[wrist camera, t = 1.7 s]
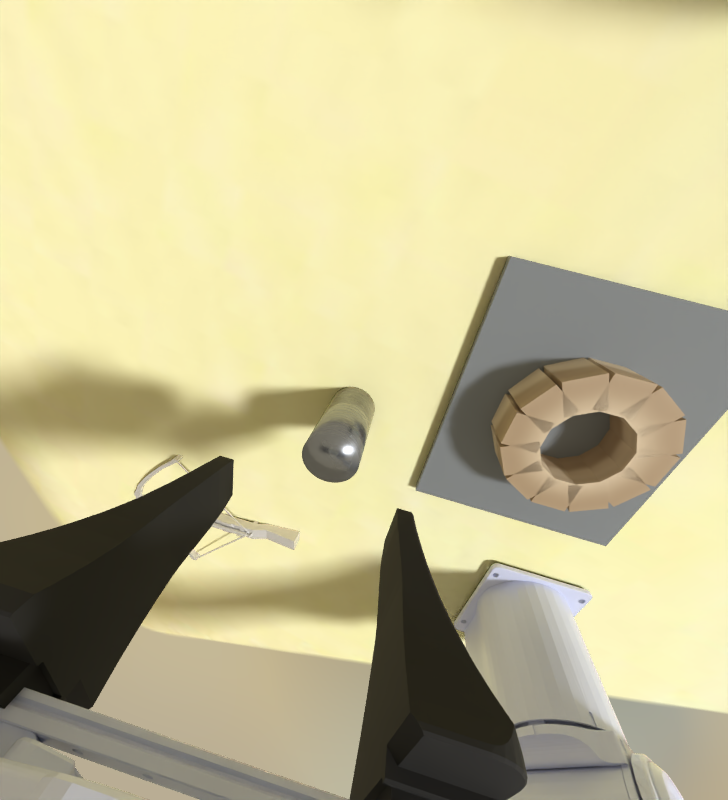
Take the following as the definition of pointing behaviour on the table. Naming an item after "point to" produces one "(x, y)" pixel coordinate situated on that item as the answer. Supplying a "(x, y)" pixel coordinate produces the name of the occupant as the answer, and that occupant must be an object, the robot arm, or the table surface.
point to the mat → (562, 341)
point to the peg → (340, 436)
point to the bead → (602, 465)
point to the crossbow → (236, 522)
